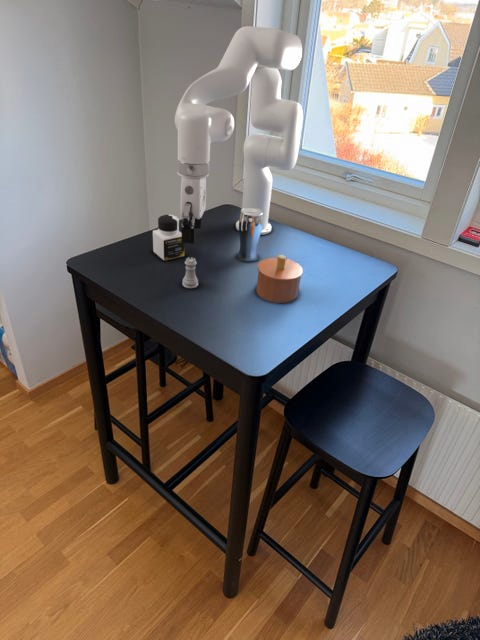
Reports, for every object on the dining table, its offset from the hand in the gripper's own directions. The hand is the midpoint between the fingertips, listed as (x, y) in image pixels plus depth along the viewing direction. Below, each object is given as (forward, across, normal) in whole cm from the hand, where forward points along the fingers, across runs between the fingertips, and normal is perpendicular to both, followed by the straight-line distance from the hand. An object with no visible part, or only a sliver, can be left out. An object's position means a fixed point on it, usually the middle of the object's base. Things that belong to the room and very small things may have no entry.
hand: (191, 235), depth 120 cm
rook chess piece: (+15, 0, 0) cm, 15 cm away
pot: (+15, +2, -24) cm, 28 cm away
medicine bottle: (+15, +18, +10) cm, 25 cm away
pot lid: (+8, +2, -24) cm, 25 cm away
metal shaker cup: (+15, +22, -14) cm, 30 cm away
